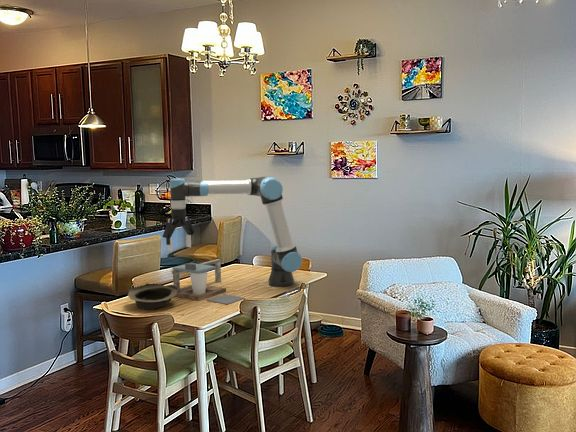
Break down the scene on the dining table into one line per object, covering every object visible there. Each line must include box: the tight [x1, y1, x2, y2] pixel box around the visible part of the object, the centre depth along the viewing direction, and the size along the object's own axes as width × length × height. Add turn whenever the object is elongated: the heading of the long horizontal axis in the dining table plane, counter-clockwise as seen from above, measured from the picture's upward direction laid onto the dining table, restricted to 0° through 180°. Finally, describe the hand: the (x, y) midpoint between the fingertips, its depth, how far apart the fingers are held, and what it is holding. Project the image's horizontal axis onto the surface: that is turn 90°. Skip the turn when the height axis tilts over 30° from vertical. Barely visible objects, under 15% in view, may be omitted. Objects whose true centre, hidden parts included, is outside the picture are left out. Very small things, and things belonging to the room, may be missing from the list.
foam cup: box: [189, 271, 208, 295], centre depth 297 cm, size 10×9×13 cm
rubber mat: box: [206, 293, 246, 305], centre depth 287 cm, size 14×14×1 cm
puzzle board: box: [171, 258, 227, 302], centre depth 307 cm, size 22×39×14 cm, turn 146°
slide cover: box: [172, 262, 216, 274], centre depth 297 cm, size 18×14×4 cm
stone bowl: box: [127, 283, 178, 311], centre depth 277 cm, size 25×25×9 cm
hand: (179, 249), depth 284 cm, fingers open, 13 cm apart
